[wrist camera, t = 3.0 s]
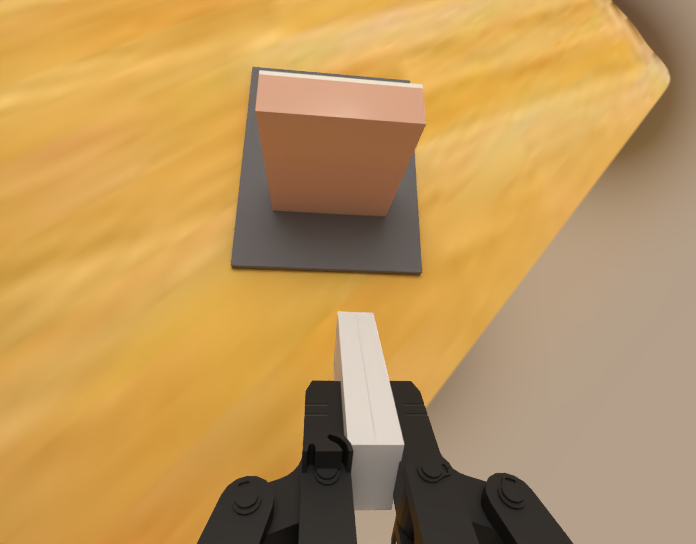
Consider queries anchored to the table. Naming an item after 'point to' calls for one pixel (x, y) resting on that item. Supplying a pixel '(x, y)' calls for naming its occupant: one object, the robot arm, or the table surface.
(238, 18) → the table surface
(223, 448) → the table surface
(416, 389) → the robot arm
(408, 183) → the mat
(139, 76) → the table surface
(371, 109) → the tile
